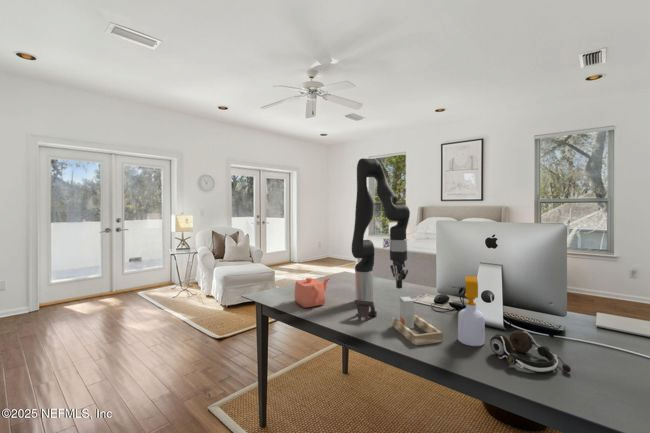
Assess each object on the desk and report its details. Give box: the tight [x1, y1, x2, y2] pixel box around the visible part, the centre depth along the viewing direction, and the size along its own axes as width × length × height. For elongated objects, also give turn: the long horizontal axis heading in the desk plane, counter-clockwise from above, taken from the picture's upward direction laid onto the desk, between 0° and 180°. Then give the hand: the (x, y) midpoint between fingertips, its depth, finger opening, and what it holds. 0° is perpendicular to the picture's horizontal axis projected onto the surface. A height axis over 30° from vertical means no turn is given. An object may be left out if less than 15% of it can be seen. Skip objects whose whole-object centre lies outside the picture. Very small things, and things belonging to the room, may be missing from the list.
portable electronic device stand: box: [354, 299, 378, 322], centre depth 147 cm, size 9×8×8 cm
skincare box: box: [399, 296, 415, 330], centre depth 136 cm, size 6×4×12 cm
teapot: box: [294, 277, 331, 309], centre depth 170 cm, size 20×19×14 cm
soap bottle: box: [457, 275, 486, 347], centre depth 120 cm, size 9×9×25 cm
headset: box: [489, 329, 572, 375], centre depth 104 cm, size 17×8×20 cm
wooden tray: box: [391, 314, 444, 346], centre depth 128 cm, size 19×11×4 cm, turn 14°
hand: (399, 288), depth 142 cm, fingers closed
